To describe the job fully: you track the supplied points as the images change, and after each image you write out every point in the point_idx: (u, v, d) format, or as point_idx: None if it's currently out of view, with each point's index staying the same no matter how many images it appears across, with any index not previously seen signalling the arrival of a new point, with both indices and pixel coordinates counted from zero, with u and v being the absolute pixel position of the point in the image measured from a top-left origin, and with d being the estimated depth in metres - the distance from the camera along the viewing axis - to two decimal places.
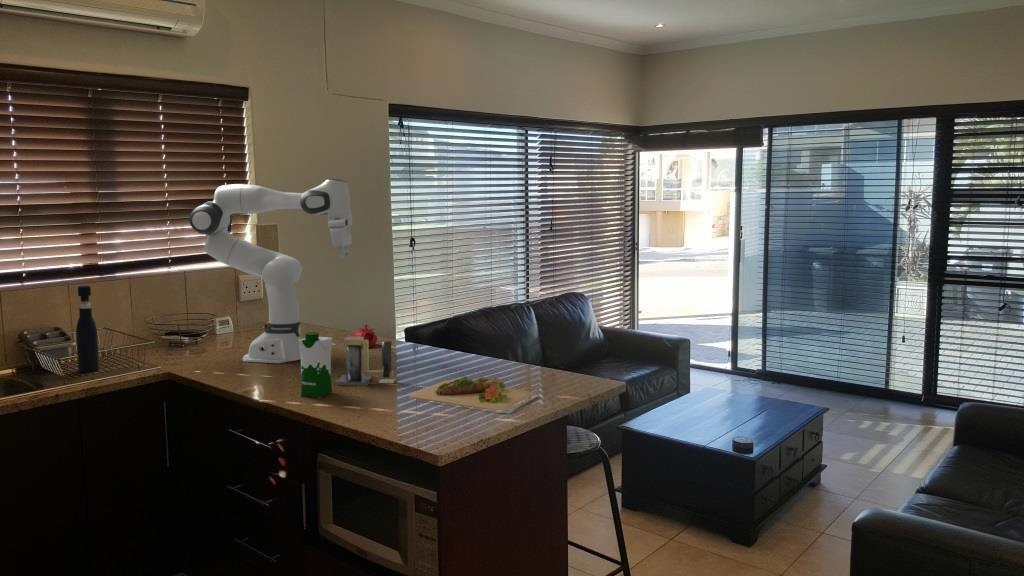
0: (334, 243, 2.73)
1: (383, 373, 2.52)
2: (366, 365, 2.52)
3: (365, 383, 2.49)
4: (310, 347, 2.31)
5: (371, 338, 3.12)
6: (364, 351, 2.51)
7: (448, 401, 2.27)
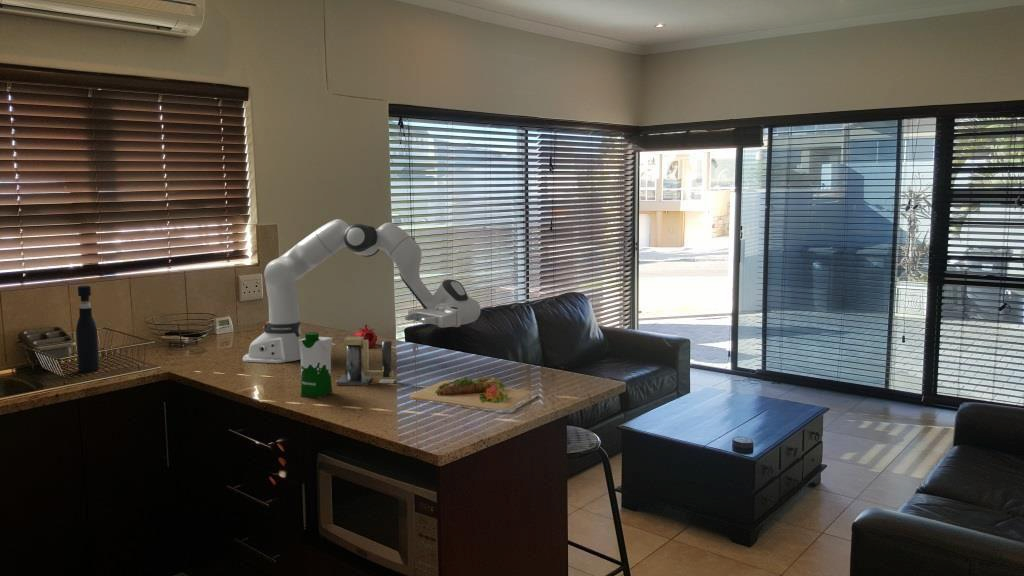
0: (447, 317, 2.58)
1: (383, 373, 2.52)
2: (366, 365, 2.52)
3: (365, 383, 2.49)
4: (310, 347, 2.31)
5: (371, 338, 3.12)
6: (364, 351, 2.51)
7: (449, 401, 2.27)
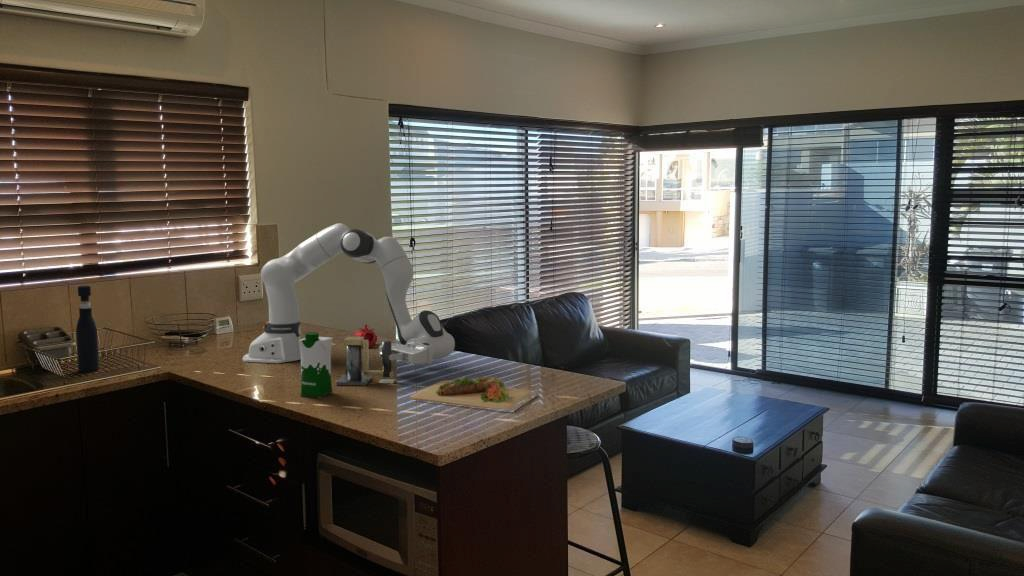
0: (417, 355, 2.50)
1: (383, 373, 2.52)
2: (366, 365, 2.52)
3: (365, 383, 2.49)
4: (310, 347, 2.31)
5: (371, 338, 3.12)
6: (364, 351, 2.51)
7: (451, 401, 2.27)
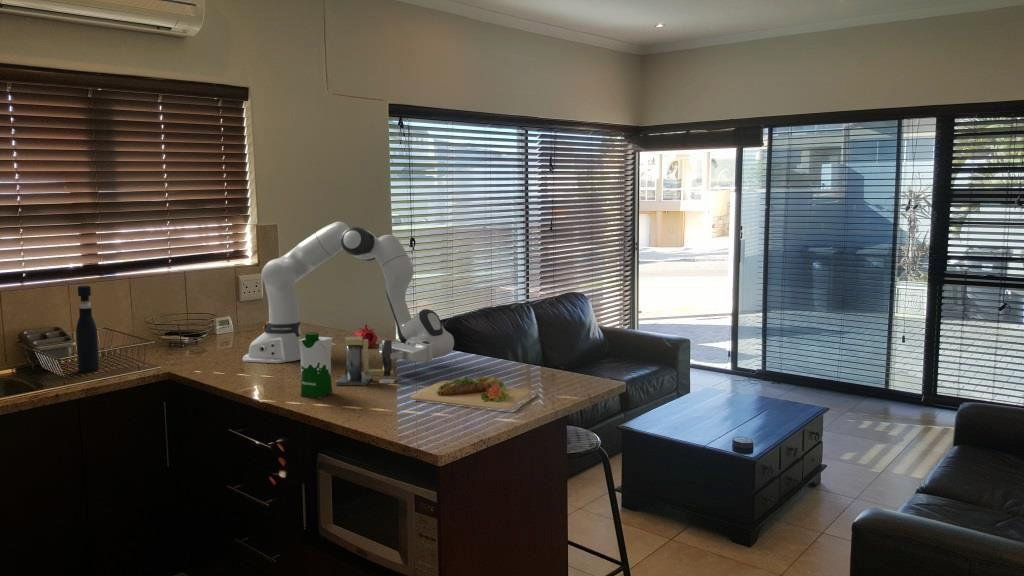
0: (418, 353, 2.53)
1: (384, 372, 2.54)
2: (367, 364, 2.53)
3: (365, 383, 2.49)
4: (310, 347, 2.31)
5: (371, 338, 3.12)
6: (364, 351, 2.52)
7: (451, 401, 2.27)
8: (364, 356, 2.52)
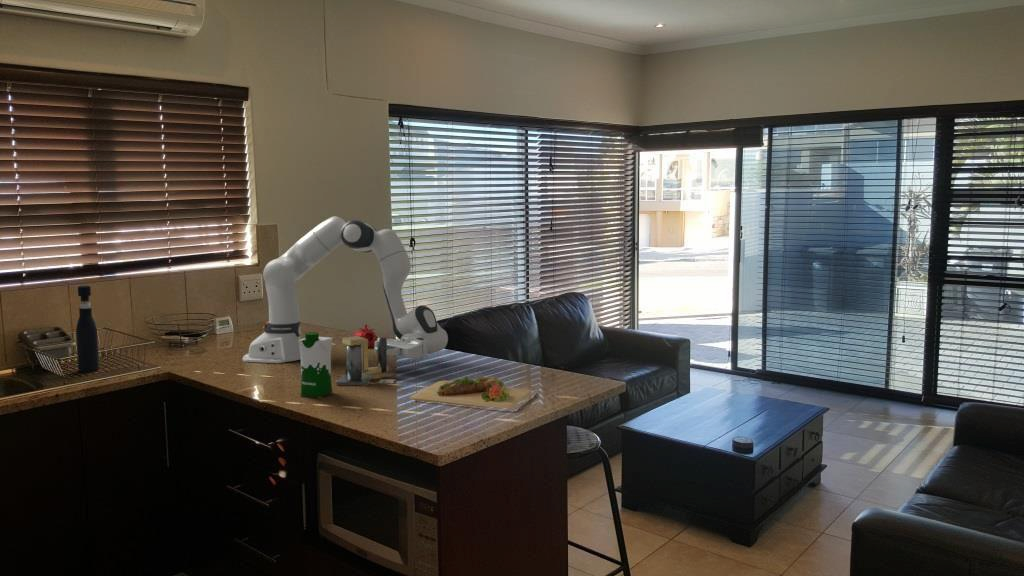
0: (413, 349, 2.58)
1: (382, 368, 2.59)
2: (367, 363, 2.55)
3: (365, 383, 2.49)
4: (310, 347, 2.31)
5: (371, 338, 3.12)
6: (365, 350, 2.54)
7: (452, 401, 2.27)
8: (364, 355, 2.54)
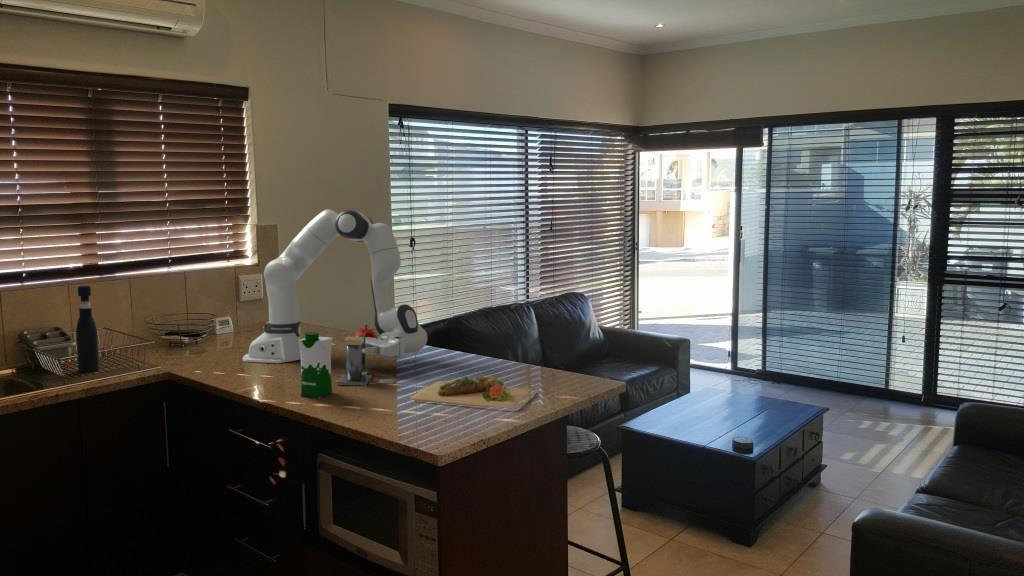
0: (389, 348, 2.61)
1: (364, 365, 2.63)
2: None
3: (365, 383, 2.49)
4: (310, 347, 2.31)
5: None
6: None
7: (453, 401, 2.27)
8: None
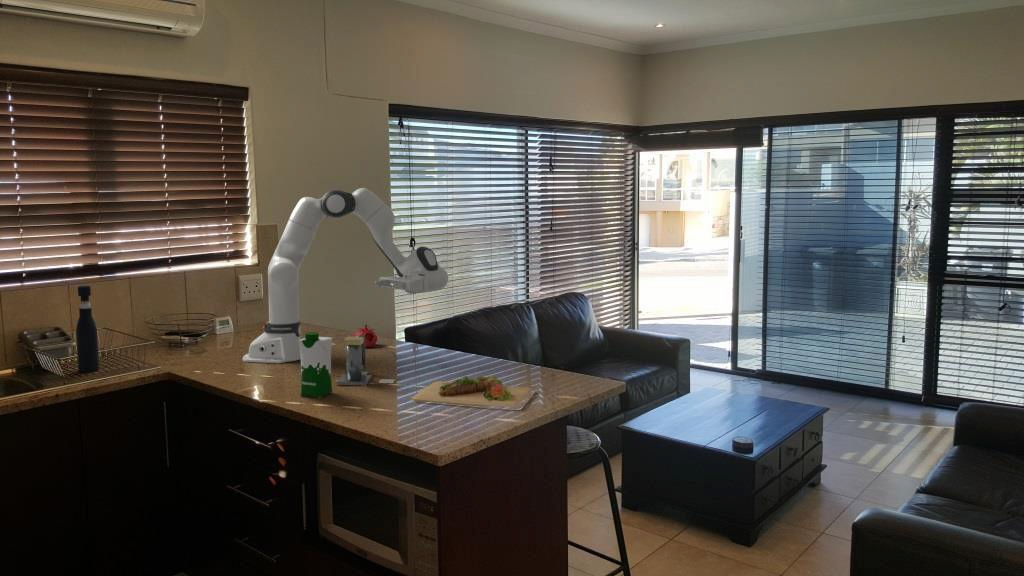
0: (414, 283, 2.75)
1: (364, 365, 2.63)
2: None
3: (365, 383, 2.49)
4: (310, 347, 2.31)
5: (371, 338, 3.12)
6: None
7: (455, 401, 2.27)
8: None
